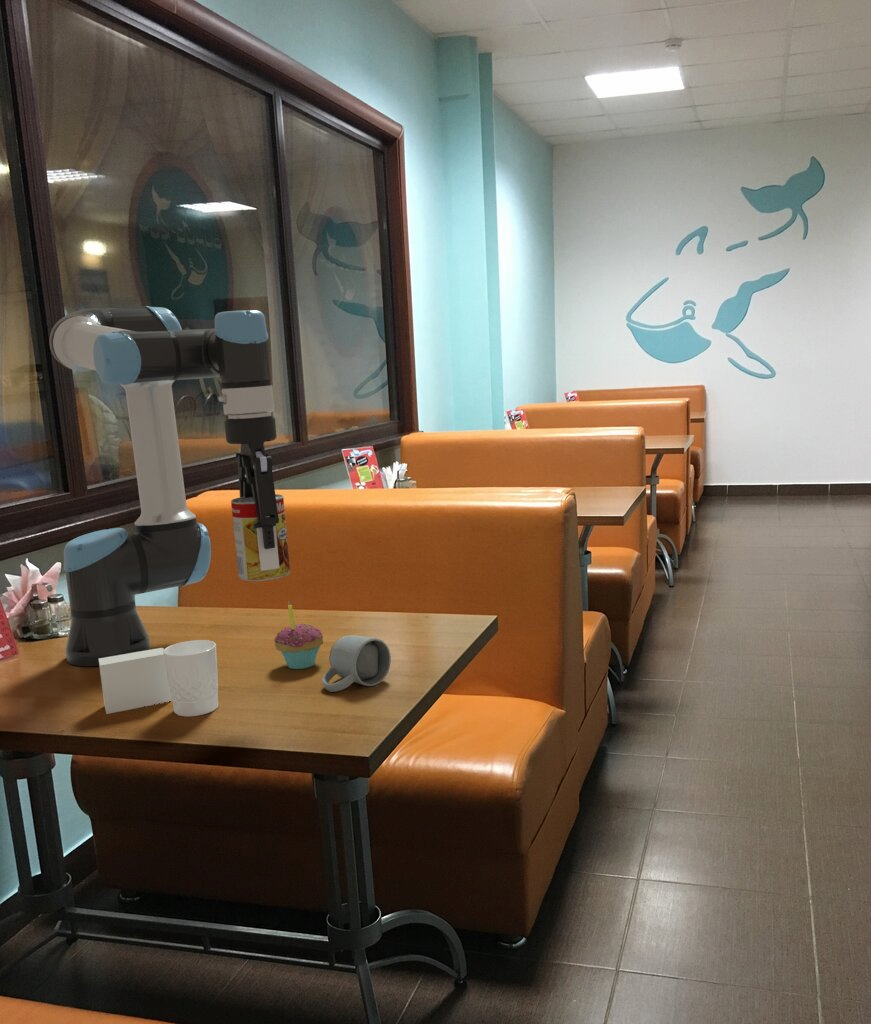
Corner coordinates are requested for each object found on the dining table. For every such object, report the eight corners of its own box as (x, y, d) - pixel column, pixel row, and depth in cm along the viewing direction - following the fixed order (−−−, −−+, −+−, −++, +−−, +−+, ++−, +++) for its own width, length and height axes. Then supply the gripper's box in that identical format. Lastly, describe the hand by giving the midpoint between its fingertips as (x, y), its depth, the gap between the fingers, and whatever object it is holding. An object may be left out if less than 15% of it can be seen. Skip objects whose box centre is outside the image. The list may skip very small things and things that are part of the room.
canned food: (298, 574, 145) (291, 497, 143) (250, 583, 141) (242, 504, 139) (278, 566, 151) (271, 492, 150) (231, 575, 147) (223, 499, 145)
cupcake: (310, 674, 161) (304, 605, 159) (267, 671, 164) (260, 604, 162) (333, 658, 169) (327, 592, 167) (291, 655, 172) (285, 591, 170)
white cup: (201, 696, 153) (195, 637, 152) (232, 705, 148) (226, 644, 147) (160, 712, 147) (152, 650, 146) (191, 722, 142) (183, 658, 141)
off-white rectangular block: (104, 706, 152) (98, 658, 151) (168, 694, 156) (162, 647, 155) (106, 714, 148) (100, 665, 147) (171, 701, 152) (166, 653, 151)
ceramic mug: (362, 669, 162) (357, 626, 160) (393, 678, 156) (389, 633, 154) (312, 688, 154) (307, 643, 153) (343, 698, 149) (338, 651, 147)
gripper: (212, 415, 150) (226, 556, 154) (238, 420, 131) (254, 580, 135) (258, 411, 153) (271, 549, 157) (291, 416, 134) (305, 572, 138)
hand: (263, 563), depth 146 cm, fingers closed on canned food, 8 cm apart
